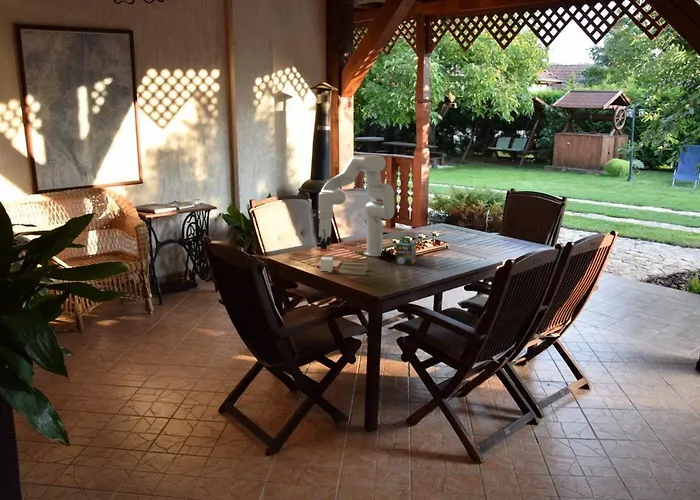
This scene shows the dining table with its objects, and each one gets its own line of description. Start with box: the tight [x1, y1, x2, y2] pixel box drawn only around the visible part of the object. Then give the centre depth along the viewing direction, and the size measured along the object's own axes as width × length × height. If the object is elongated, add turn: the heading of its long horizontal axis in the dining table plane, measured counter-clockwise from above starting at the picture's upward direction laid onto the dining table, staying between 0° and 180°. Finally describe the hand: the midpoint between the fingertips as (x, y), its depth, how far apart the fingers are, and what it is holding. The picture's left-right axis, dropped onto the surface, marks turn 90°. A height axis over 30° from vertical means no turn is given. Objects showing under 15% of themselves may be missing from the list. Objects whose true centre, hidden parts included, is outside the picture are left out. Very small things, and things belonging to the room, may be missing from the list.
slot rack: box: [338, 262, 369, 276], centre depth 347 cm, size 10×14×4 cm
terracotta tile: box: [315, 259, 342, 269], centre depth 362 cm, size 12×12×1 cm
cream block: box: [320, 256, 334, 273], centre depth 348 cm, size 6×6×7 cm
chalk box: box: [395, 236, 417, 266], centre depth 365 cm, size 9×9×15 cm
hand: (325, 247), depth 346 cm, fingers open, 9 cm apart
